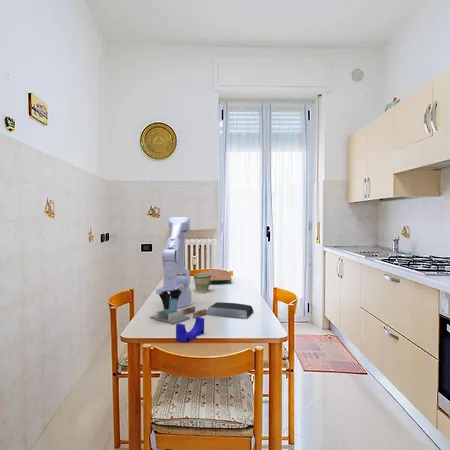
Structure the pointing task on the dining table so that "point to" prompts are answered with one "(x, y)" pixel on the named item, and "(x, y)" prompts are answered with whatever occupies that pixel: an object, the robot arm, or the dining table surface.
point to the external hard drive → (230, 310)
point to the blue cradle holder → (193, 333)
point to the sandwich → (218, 275)
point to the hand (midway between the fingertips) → (170, 307)
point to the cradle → (195, 314)
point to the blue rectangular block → (171, 306)
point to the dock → (170, 317)
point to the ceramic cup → (202, 282)
